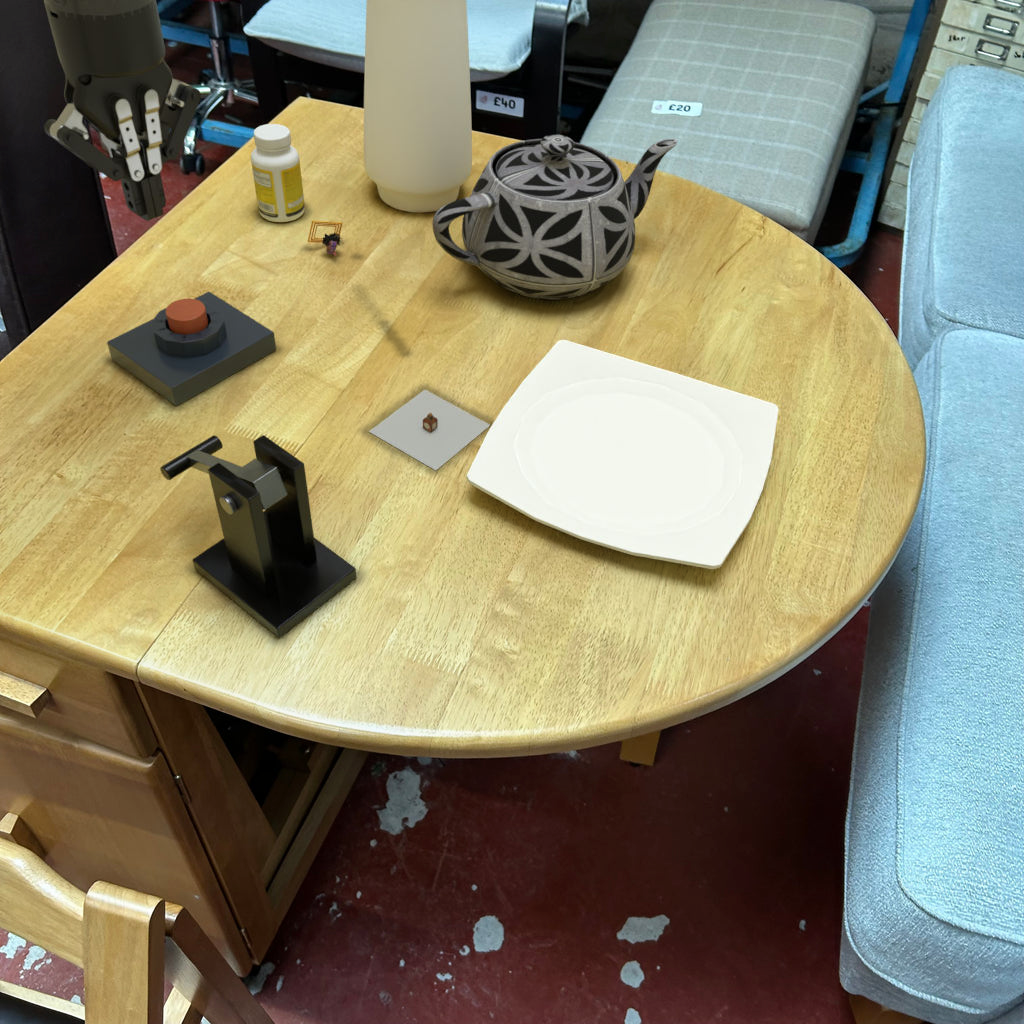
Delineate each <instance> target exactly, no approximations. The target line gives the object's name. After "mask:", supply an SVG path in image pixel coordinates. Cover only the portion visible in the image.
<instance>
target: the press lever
mask: <svg viewBox="0 0 1024 1024" xmlns="http://www.w3.org/2000/svg"><path fill="white" fill-rule="evenodd" d="M223 447H224V446H223V442H222V441H221V439H220V438H219V437H218V436H217V435H214V434H213V435H211V436H209V437H208V438H207V439H204V440H203V441H202V442H200V443H198V444H197V445H195V446H193V447H191V448H189V449H187V450H186V451H185V452H183V453H181V454H180V455H178V456H176V457H175V458H173V459H172V460H171V459H170V461H168V462H166V463H164V464H163V465H161V466H160V468H159V470H160V473H161V474H162V476H163V477H164V478H165V480H167V481H171V480H173V479H174V478H176V477H178V476H179V475H181V474H183V473H185V471H188V470H189V469H191V468H193V469H194V470H198V471H200V472H202V473H205V474H207V475H209V472H208V469H209V468H211V467H212V466H214V465H216V464H217V463H220V464H222V465H223V466H224V467H226V468H227V469H228V470H230V471H231V472H232V473H234V474H235V475H236V476H238V477H239V478H241V479H242V480H243V481H245V482H246V483H247V484H249V485H250V486H251V487H253V488H254V489H255V490H257V491H258V492H259V493H260V497H261V502H262V508H263V511H265V510H266V509H267V508H269V507H270V506H272V505H273V504H275V503H276V502H277V501H279V500H280V499H282V498H283V497H285V496H286V495H288V493H287V491H286V488H285V486H284V483H283V480H282V478H281V475H280V473H279V470H278V468H277V467H276V466H273V465H270V464H268V463H265V462H262V461H259V460H257V459H256V458H254V459H252V460H251V461H249V462H247V463H246V464H244V465H242V466H241V465H239V464H236V463H233V462H231V461H228V460H225V459H222V458H220V457H218V456H215V455H213V454H215V453H216V452H219V451H220V450H221V449H223Z"/></svg>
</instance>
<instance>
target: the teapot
mask: <svg viewBox="0 0 1024 1024" xmlns="http://www.w3.org/2000/svg"><path fill="white" fill-rule="evenodd" d="M678 142H679V141H678V140H677V139H674V138H667V139H662V140H659V141H656V142H655V143H653V144H652V145H650V146H649V148H647V149H646V150H645V152H644V153H643V154H642V156H641V158H640V159H639V161H637V164H636V165H635V167H634V169H633V170H632V171H631V173H630V174H629V176H628V178H626V179H624V177H623V174H622V171H621V169H620V167H619V165H618V164H617V163H616V162H615V161H614V160H613V159H612V158H611V157H610V156H608V155H607V154H606V153H604V152H602V151H600V150H598V149H597V148H594V147H592V146H590V145H586V144H583V143H580V142H575V141H574V140H573V139H571V137H569V136H566V135H563V134H549V135H545V136H544V137H542V138H535V139H534V138H533V139H526V140H521V141H516V142H513V143H511V144H508V145H506V146H505V145H504V146H503V147H502V148H500V149H498V150H497V151H496V152H495V153H494V154H493V155H492V156H491V157H490V158H489V160H488V161H487V163H486V165H485V167H484V168H483V170H482V172H481V173H480V175H479V178H478V179H477V181H476V183H475V185H474V186H473V189H472V190H471V193H470V195H469V196H467V197H463V198H460V199H456V200H455V201H454V202H451V203H449V204H447V205H445V206H443V207H441V208H440V209H439V210H438V211H435V213H434V215H433V218H432V232H433V235H434V238H435V240H436V242H437V244H438V245H439V246H440V247H441V249H442V250H443V251H444V252H445V253H447V254H448V255H449V256H450V257H452V258H454V259H456V260H458V261H460V262H461V263H462V262H463V263H465V264H468V265H471V266H475V267H477V268H478V269H479V270H480V271H481V272H483V273H484V274H485V275H486V276H487V277H489V278H490V279H491V280H492V281H494V282H495V283H496V284H498V286H500V287H503V288H504V289H506V290H507V291H510V292H512V293H514V294H517V295H520V296H524V297H529V298H532V299H539V300H565V299H571V298H576V297H580V296H583V295H586V294H588V293H591V292H593V291H594V290H596V289H598V288H600V287H602V286H604V285H606V284H608V283H609V282H611V281H612V280H614V279H615V278H616V277H618V276H619V275H620V274H621V273H622V272H623V271H624V269H626V267H627V265H628V264H629V262H630V260H631V258H632V256H633V253H634V250H635V244H636V223H635V220H636V219H637V218H638V217H639V215H640V214H641V213H642V211H643V210H644V208H645V206H646V205H647V202H648V199H649V196H650V193H651V188H652V185H653V182H654V177H655V175H656V171H657V169H658V167H659V165H660V162H661V161H662V159H663V158H664V157H665V156H666V154H667V153H668V152H669V151H671V150H672V149H673V148H674V147H676V146H677V144H678ZM462 216H463V218H462V224H461V237H462V242H463V245H464V248H465V249H463V248H461V247H460V246H458V245H457V244H456V243H455V242H454V240H453V239H452V237H451V233H450V225H451V224H452V222H453V221H454V220H457V219H458V218H460V217H462Z"/></svg>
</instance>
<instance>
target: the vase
mask: <svg viewBox="0 0 1024 1024" xmlns="http://www.w3.org/2000/svg"><path fill="white" fill-rule="evenodd" d="M468 23H469V22H468V8H467V0H366V7H365V38H364V39H365V43H364V75H363V76H364V78H363V79H364V81H363V164H364V165H363V166H364V170H365V173H366V175H367V176H368V178H370V180H371V181H372V182H373V183H375V184H376V187H377V192H378V195H379V197H380V199H381V200H382V201H383V202H384V203H385V204H386V205H388V206H390V207H391V208H394V209H396V210H399V211H402V212H408V213H418V214H419V213H421V214H422V213H423V214H424V213H433V212H437V211H438V210H439V209H440V208H441V207H443V206H445V205H447V204H449V203H451V202H454V201H456V200H458V197H459V193H460V188H461V186H462V185H463V184H464V183H466V181H467V180H468V179H469V178H470V175H471V174H472V167H473V136H472V135H473V134H472V133H473V128H472V125H473V124H472V99H471V98H472V97H471V93H472V92H471V71H470V68H471V67H470V50H469V49H470V47H469V45H470V44H469V26H468V25H469V24H468Z"/></svg>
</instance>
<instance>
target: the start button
mask: <svg viewBox="0 0 1024 1024" xmlns="http://www.w3.org/2000/svg"><path fill="white" fill-rule="evenodd" d="M165 308H166V316H167V320H168V324H169V328H170V330H171V331H172V332H173V333H176V334H183V335H187V334H194V333H198V332H200V331H202V330H204V329H206V327H207V325H208V319H207V314H206V309H205V306H204V304H203V303H202V302H200V301H198V300H195V298H181V299H177V300H175V301H172V302H171V303H169V304H168V305H167V307H165Z"/></svg>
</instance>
